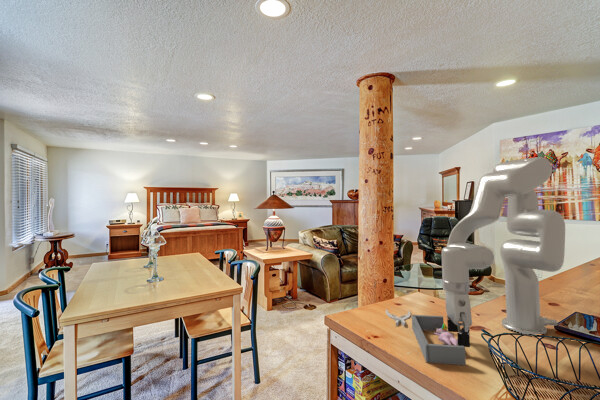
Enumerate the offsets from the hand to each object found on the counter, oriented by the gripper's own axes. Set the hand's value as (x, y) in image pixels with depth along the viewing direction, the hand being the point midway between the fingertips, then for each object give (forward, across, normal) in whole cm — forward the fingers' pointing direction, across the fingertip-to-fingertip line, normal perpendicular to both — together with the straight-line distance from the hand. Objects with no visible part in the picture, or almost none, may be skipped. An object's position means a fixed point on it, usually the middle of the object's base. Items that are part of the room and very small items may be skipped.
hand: (458, 338), depth 90 cm
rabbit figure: (+3, +2, +3) cm, 4 cm away
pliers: (+3, +20, +16) cm, 25 cm away
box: (+2, 0, +7) cm, 7 cm away
